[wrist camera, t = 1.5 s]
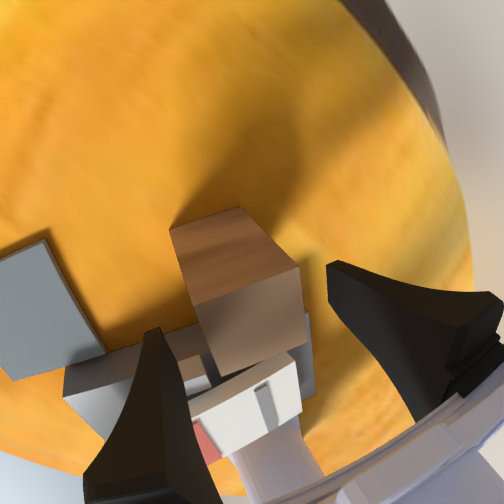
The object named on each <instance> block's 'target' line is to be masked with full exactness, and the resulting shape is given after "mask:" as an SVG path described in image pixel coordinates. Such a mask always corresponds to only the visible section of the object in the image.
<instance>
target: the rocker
mask: <svg viewBox="0 0 504 504" xmlns="http://www.w3.org/2000/svg"><path fill="white" fill-rule="evenodd" d="M188 405H189V410H190V415H191V419H192V424H193V428H194V432H195V435H196V438H197V441H198V444H199V447H200V449H201V452H202V455H203V457H204V460H205V463H206V465H209V464H211V463H213V462H215V461H217V460H219V459H221V458H223V457H225V456H227V455H229V454H231V453H233V452H235V451H237V450H238V449H240V448H242V447H244V446H246V445H248V444H249V443H251V442H253V441H255V440H256V439H258V438H260V437H262V436H263V435H265V434H267V433H269V432H270V431H272V430H274V429H275V428H277V427H279V426H280V425H282V424H283V423H285V422H287V421H288V420H290V419H291V418H293V417H295V416H296V415H298V414H299V413H301V412H302V404H301V397H300V390H299V383H298V376H297V369H296V363H295V360H294V359H293V358H292V357H291V356H290V355H289V354H288V353H287V352H286V351H285V352H283V353H281V354H278V355H276V356H273V357H271V358H269V359H266V360H264V361H262V362H261V363H259V364H257V365H255V366H254V367H252V368H250V369H248V370H246V371H245V372H243V373H241V374H239V375H237V376H235V377H234V378H232V379H230V380H228V381H226V382H224V383H222V384H221V385H219V386H217V387H215V388H213V389H211V390H209V391H207V392H205V393H203V394H201V395H199V396H197V397H195V398H193V399H191V400H189V401H188ZM107 439H108V437H107V438H105V439H104V441H105V442H106V441H107Z"/></svg>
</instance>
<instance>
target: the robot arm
mask: <svg viewBox="0 0 504 504" xmlns="http://www.w3.org/2000/svg"><path fill="white" fill-rule="evenodd" d="M326 273H327V290H328V302H329V304H330V305H331V307H332V308H333V310H334V311H335V313H336V314H337V315H338V317H339V318H340V320H341V321H342V322H343V323H344V324H345V325H346V326H347V327H348V328H349V329H350V331H351V332H352V333H353V334H354V335H355V336H356V337H357V338H358V339H359V340H360V341H361V342H362V343H363V345H364V346H365V347H366V348H367V349H368V350H369V351H370V352H371V353H372V355H373V356H374V357H375V358H376V360H377V361H378V362H379V364H380V365H381V367H382V368H383V369H384V371H385V372H386V374H387V375H388V377H389V378H390V380H391V381H392V383H393V384H394V386H395V387H396V389H397V390H398V392H399V394H400V395H401V397H402V399H403V400H404V402H405V404H406V406H407V407H408V409H409V411H410V413H411V415H412V417H413V419H414V421H415V423H416V424H414V425H413V426H411V427H410V428H408V429H407V430H405V431H404V432H402V433H401V434H399V435H398V436H396V437H395V438H393V439H392V440H390V441H388V442H387V443H385V444H384V445H382V446H380V447H379V448H377V449H375V450H374V451H372V452H370V453H369V454H367V455H365V456H363V457H362V458H360V459H358V460H356V461H354V462H353V463H351V464H349V465H347V466H345V467H343V468H341V469H339V470H338V471H336V472H334V473H332V474H330V475H328V476H325V475H324V473H323V471H322V470H321V468H320V466H319V465H318V463H317V461H316V460H315V458H314V456H313V455H312V453H311V451H310V450H309V448H308V446H307V444H306V443H305V441H304V439H303V437H302V436H301V429H300V423H299V417H298V415H296V416H295V417H293V418H291V419H290V420H288V421H287V422H285V423H283V424H282V425H280V426H279V427H277V428H275V429H274V430H272V431H270V432H269V433H267V434H265V435H263V436H262V437H260V438H258V439H256V440H255V441H253V442H251V443H249V444H248V445H246V446H244V447H242V448H240V449H238V450H237V451H235V452H233V453H231V454H229V455H227V456H228V457H229V458H230V460H231V461H232V463H233V464H234V465H235V467H236V468H237V471H238V473H239V476H240V478H241V480H242V483H243V485H244V487H245V490H246V492H247V494H248V497H249V499H250V501H251V504H504V481H503V479H502V478H501V477H500V476H499V475H498V474H497V472H496V471H495V470H494V469H493V468H492V467H491V466H490V465H489V463H488V462H487V461H486V460H485V459H484V457H483V456H482V455H481V454H480V453H479V452H478V451H479V450H480V449H481V448H482V447H483V446H484V445H485V444H486V443H487V442H488V441H489V440H490V439H491V438H492V437H493V435H494V434H496V432H497V431H498V430H499V429H500V428H501V427H502V426H503V425H504V344H502V343H500V342H499V340H500V336H499V335H498V334H497V333H496V330H497V327H498V325H499V322H500V320H501V317H502V314H503V311H504V303H503V301H502V300H500V299H499V298H498V297H496V296H495V295H494V294H492V293H491V292H489V291H484V292H457V291H445V290H437V289H430V288H425V287H420V286H415V285H411V284H407V283H403V282H400V281H397V280H393V279H390V278H387V277H384V276H381V275H378V274H375V273H373V272H370V271H367V270H365V269H362V268H359V267H357V266H354V265H351V264H349V263H346V262H343V261H340V260H337V261H334V262H332V263H329V264H327V265H326ZM83 492H84V501H85V504H223V502H222V500H221V498H220V496H219V493H218V491H217V489H216V487H215V484H214V482H213V480H212V477H211V475H210V473H209V470H208V468H207V465H206V463H205V460H204V457H203V455H202V452H201V449H200V447H199V444H198V441H197V438H196V435H195V432H194V428H193V424H192V419H191V415H190V410H189V405H188V400H187V396H186V391H185V386H184V381H183V378H182V375H181V372H180V369H179V366H178V362H177V360H176V358H175V356H174V354H173V352H172V350H171V349H170V347H169V345H168V343H167V341H166V339H165V337H164V335H163V333H162V331H161V329H160V327H158V328H155V329H152V330H149V331H146V332H145V334H144V337H143V342H142V347H141V352H140V356H139V360H138V364H137V368H136V372H135V375H134V378H133V382H132V385H131V388H130V391H129V394H128V397H127V399H126V402H125V404H124V407H123V409H122V412H121V414H120V416H119V418H118V420H117V422H116V424H115V426H114V428H113V430H112V432H111V434H110V436H109V437H108V439H107V441H106V442H105V444H104V446H103V447H102V449H101V451H100V452H99V453H98V455H97V456H96V458H95V459H94V460H93V462H92V463H91V464H90V466H89V467H88V468H87V470H86V471H85V472H84V473H83Z"/></svg>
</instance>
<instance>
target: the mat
mask: <svg viewBox="0 0 504 504" xmlns="http://www.w3.org/2000/svg"><path fill="white" fill-rule="evenodd" d="M104 354H105V346H104V345H103V343H102V341H101V340H100V338H99V337H98V335H97V333H96V332H95V330H94V329H93V327H92V325H91V324H90V322H89V320H88V319H87V317H86V315H85V314H84V312H83V310H82V308H81V307H80V305H79V303H78V301H77V300H76V298H75V296H74V294H73V292H72V291H71V289H70V287H69V285H68V283H67V281H66V279H65V277H64V276H63V274H62V272H61V270H60V268H59V266H58V264H57V262H56V260H55V258H54V256H53V254H52V251H51V249H50V247H49V245H48V243H47V241H46V239H42V240H40V241H38V242H36V243H33V244H31V245H29V246H27V247H24V248H22V249H20V250H18V251H15V252H13V253H11V254H9V255H7V256H5V257H3V258H0V366H1V367H2V369H3V370H4V371H5V372H6V373H7V375H8V376H9V377H10V378H11V379H12V380H13V381H16V380H20V379H24V378H27V377H31V376H34V375H38V374H41V373H45V372H48V371H52V370H55V369H58V368H62V367H65V366H68V365H72V364H75V363H78V362H81V361H85V360H88V359H91V358H94V357H97V356H101V355H104Z"/></svg>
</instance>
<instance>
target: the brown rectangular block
mask: <svg viewBox="0 0 504 504" xmlns="http://www.w3.org/2000/svg"><path fill="white" fill-rule="evenodd" d="M169 232H170V236H171V239H172V243H173V246H174V249H175V252H176V256H177V259H178V262H179V265H180V268H181V272H182V275H183V278H184V281H185V284H186V287H187V290H188V293H189V296H190V299H191V302H192V305H193V308H194V310H195V313H196V316H197V318H198V321H199V323H200V326H201V328H202V331H203V333H204V336H205V338H206V341H207V343H208V346H209V348H210V350H211V353H212V355H213V358H214V360H215V362H216V365H217V367H218V369H219V372H220V374H221V376H225V375H228V374H230V373H233V372H236V371H238V370H241V369H243V368H246V367H249V366H251V365H254V364H256V363H259V362H261V361H264V360H266V359H269V358H271V357H273V356H276V355H278V354H281V353H283V352H285V351H288V350H290V349H292V348H295V347H297V346H299V345H301V344H304V343H306V342H308V339H307V329H306V320H305V311H304V303H303V294H302V286H301V278H300V270H299V266H298V265H297V264H296V263H295V262H294V261H293V260H292V259H291V258H290V257H289V256H288V255H287V254H286V253H285V252H284V251H283V250H282V249H281V248H280V247H279V246H278V245H277V244H276V243H275V242H274V241H273V240H272V238H271V237H270V236H269V235H268V234H267V233H266V232H265V231H264V230H263V229H262V228H261V227H260V226H259V225H258V224H257V223H256V222H255V221H254V220H253V219H252V218H251V217H250V216H249V215H248V214H247V213H246V212H245V211H244V210H243V209H242V208H241V207H240V206H239V207H236V208H233V209H229V210H226V211H223V212H220V213H217V214H214V215H211V216H208V217H205V218H202V219H199V220H196V221H193V222H190V223H187V224H184V225H181V226H178V227H175V228H172V229H169Z"/></svg>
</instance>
